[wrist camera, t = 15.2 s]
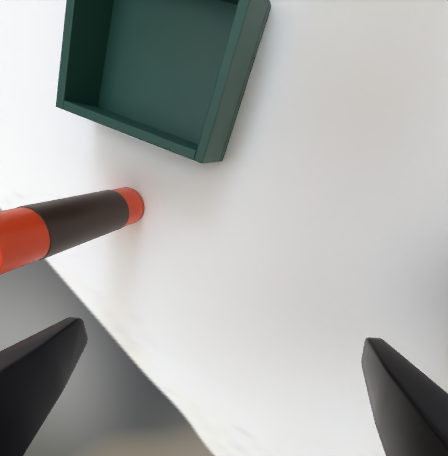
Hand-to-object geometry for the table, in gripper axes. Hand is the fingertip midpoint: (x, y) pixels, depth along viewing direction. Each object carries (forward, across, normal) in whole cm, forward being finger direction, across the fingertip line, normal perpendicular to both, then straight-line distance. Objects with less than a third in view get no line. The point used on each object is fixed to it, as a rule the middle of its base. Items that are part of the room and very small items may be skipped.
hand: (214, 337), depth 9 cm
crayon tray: (+15, +5, -10) cm, 19 cm away
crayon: (+15, +10, 0) cm, 18 cm away
